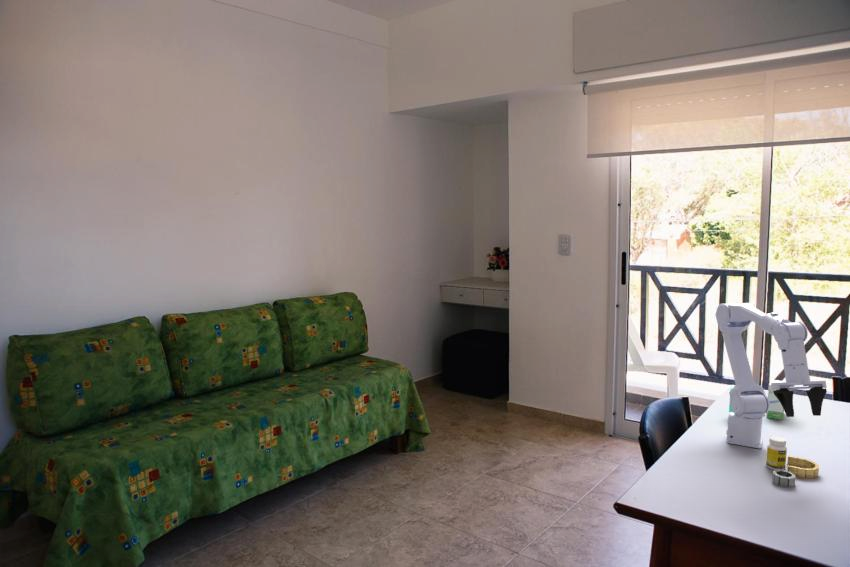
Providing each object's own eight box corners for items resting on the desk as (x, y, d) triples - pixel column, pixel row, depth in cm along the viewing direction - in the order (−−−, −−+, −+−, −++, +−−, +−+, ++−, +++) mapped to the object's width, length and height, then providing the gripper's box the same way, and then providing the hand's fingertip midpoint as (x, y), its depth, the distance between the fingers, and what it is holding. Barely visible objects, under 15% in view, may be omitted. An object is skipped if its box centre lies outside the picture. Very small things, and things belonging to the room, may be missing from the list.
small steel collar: (772, 484, 160) (772, 475, 160) (772, 477, 165) (773, 468, 164) (794, 489, 158) (795, 480, 157) (794, 481, 162) (795, 472, 162)
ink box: (782, 420, 207) (785, 387, 206) (766, 417, 210) (768, 384, 208) (784, 413, 214) (786, 380, 213) (768, 410, 217) (770, 378, 215)
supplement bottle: (778, 472, 168) (780, 443, 167) (762, 465, 172) (764, 437, 171) (789, 468, 170) (791, 440, 169) (772, 462, 174) (774, 434, 173)
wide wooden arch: (787, 475, 166) (787, 466, 166) (787, 464, 173) (787, 455, 172) (818, 481, 162) (819, 472, 162) (817, 469, 169) (818, 461, 169)
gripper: (780, 365, 162) (788, 417, 159) (830, 363, 163) (839, 415, 161) (763, 367, 169) (771, 417, 166) (812, 365, 170) (820, 414, 167)
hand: (803, 416), depth 164 cm, fingers open, 7 cm apart
